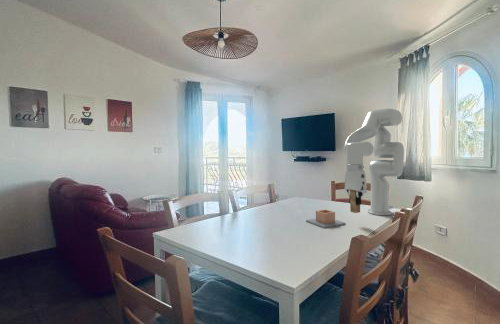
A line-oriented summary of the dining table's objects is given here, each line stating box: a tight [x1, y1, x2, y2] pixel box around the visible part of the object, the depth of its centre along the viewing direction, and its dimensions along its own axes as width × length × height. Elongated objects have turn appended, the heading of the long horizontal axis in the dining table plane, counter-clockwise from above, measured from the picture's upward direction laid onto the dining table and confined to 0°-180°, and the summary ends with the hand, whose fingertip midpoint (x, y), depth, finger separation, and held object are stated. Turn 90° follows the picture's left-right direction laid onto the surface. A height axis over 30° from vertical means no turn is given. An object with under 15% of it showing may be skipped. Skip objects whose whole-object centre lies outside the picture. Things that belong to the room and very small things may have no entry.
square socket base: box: [305, 209, 347, 229], centre depth 136 cm, size 14×14×6 cm
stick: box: [349, 190, 361, 214], centre depth 131 cm, size 3×3×12 cm
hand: (355, 203), depth 131 cm, fingers closed on stick, 3 cm apart
